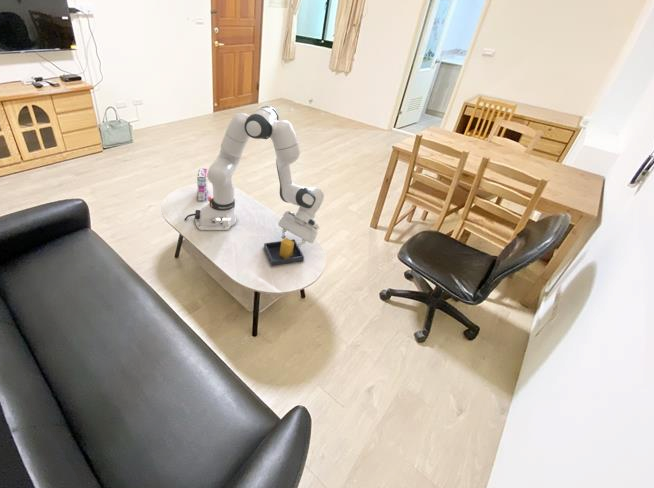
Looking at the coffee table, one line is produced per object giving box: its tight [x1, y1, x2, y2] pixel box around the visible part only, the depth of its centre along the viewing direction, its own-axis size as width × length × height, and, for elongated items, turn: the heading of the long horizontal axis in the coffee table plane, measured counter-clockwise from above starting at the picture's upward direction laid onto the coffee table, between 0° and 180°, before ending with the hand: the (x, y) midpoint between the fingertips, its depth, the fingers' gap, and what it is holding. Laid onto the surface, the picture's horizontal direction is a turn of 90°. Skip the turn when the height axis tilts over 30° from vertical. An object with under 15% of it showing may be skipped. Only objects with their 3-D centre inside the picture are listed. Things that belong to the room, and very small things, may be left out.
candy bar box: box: [196, 168, 208, 202], centre depth 199 cm, size 11×5×16 cm, turn 5°
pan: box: [263, 238, 305, 267], centre depth 166 cm, size 16×13×4 cm
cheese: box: [280, 237, 294, 259], centre depth 164 cm, size 5×4×9 cm
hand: (290, 242), depth 164 cm, fingers open, 8 cm apart
